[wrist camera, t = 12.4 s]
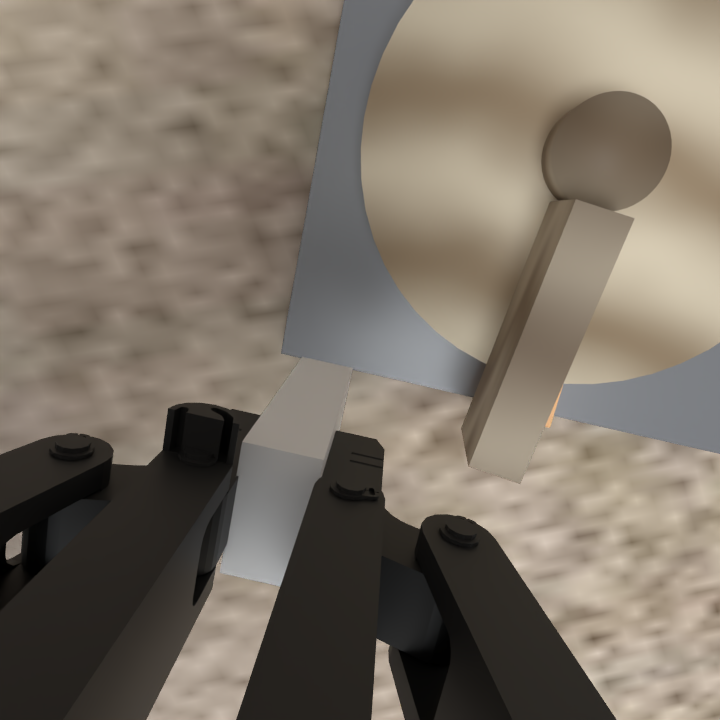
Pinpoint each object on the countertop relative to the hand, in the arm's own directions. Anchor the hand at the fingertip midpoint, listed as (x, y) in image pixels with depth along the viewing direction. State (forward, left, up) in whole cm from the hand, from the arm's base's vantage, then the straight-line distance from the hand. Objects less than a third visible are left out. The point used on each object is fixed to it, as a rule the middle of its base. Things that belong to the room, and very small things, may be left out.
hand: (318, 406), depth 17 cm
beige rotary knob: (+8, +8, -11) cm, 15 cm away
